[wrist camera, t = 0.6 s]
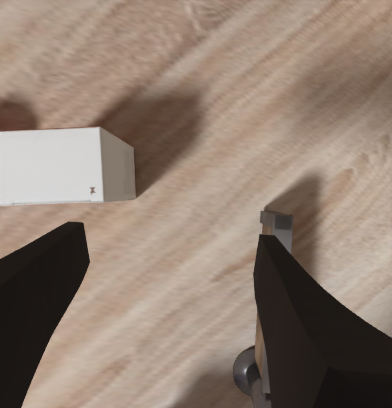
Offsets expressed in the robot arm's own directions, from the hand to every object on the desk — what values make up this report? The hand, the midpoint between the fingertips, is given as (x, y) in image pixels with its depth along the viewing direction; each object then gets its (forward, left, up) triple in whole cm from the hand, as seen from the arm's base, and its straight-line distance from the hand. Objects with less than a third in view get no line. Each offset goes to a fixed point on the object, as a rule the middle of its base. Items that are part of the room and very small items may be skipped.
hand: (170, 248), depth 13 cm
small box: (+4, +10, -20) cm, 23 cm away
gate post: (-16, -8, -20) cm, 27 cm away
